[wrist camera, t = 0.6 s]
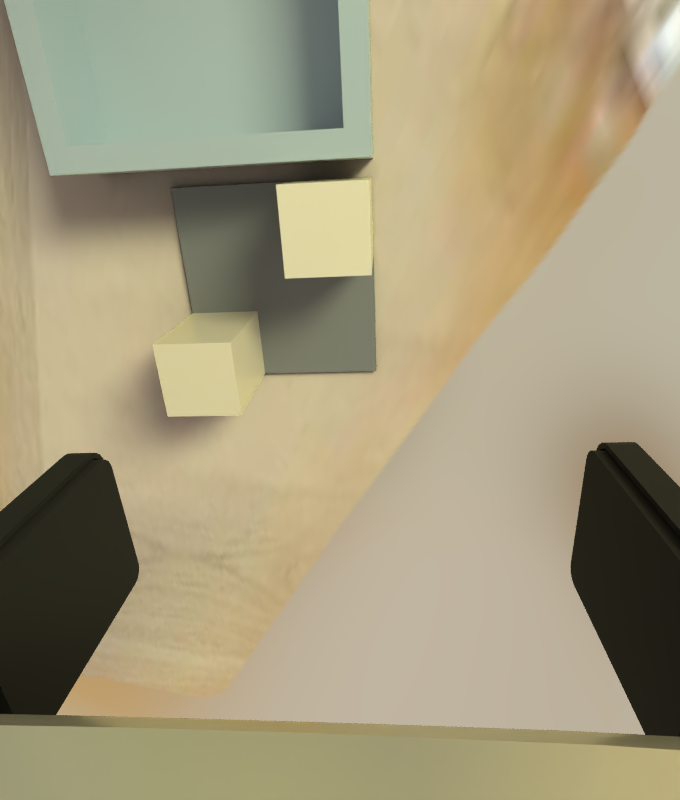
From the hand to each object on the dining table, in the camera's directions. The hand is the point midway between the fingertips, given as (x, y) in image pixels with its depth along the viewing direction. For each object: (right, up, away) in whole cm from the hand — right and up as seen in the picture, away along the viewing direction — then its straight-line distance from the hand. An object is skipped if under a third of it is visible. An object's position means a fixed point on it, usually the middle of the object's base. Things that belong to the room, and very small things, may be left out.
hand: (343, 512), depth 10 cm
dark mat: (-4, +9, +20) cm, 22 cm away
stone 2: (0, +12, +18) cm, 22 cm away
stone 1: (-7, +6, +21) cm, 23 cm away
